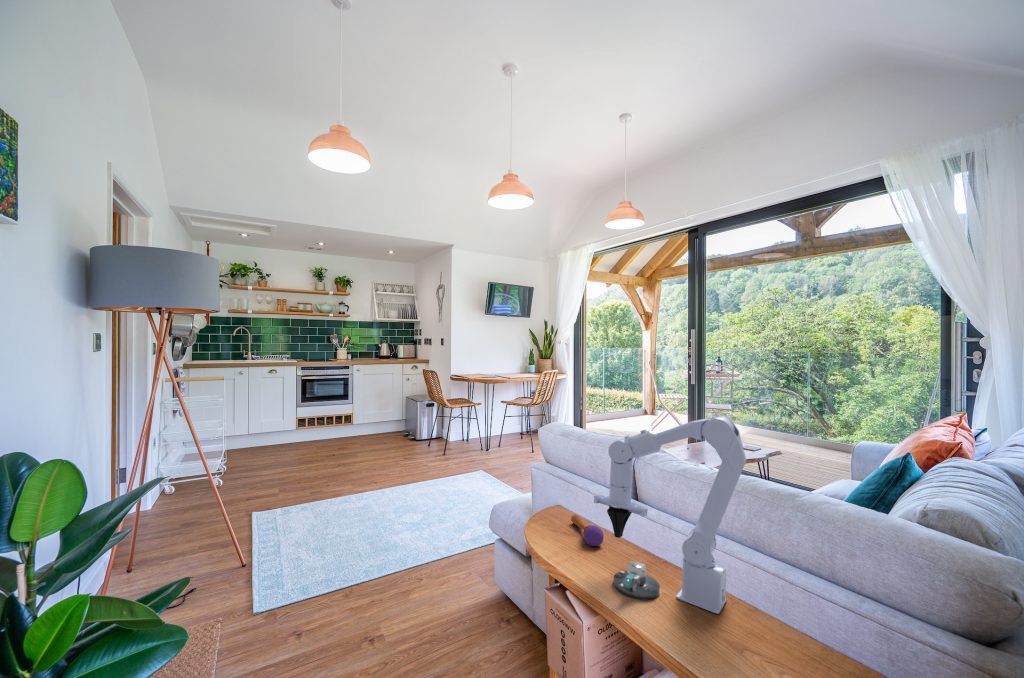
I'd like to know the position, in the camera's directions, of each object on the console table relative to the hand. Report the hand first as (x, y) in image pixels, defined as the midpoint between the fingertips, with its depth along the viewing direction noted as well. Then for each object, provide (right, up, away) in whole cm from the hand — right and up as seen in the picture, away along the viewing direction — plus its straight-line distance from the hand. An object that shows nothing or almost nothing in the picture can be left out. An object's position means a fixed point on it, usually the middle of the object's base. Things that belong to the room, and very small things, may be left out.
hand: (618, 536), depth 114 cm
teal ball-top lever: (+1, -7, -10) cm, 13 cm away
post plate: (+2, -9, -8) cm, 12 cm away
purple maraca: (-5, -11, +23) cm, 26 cm away
